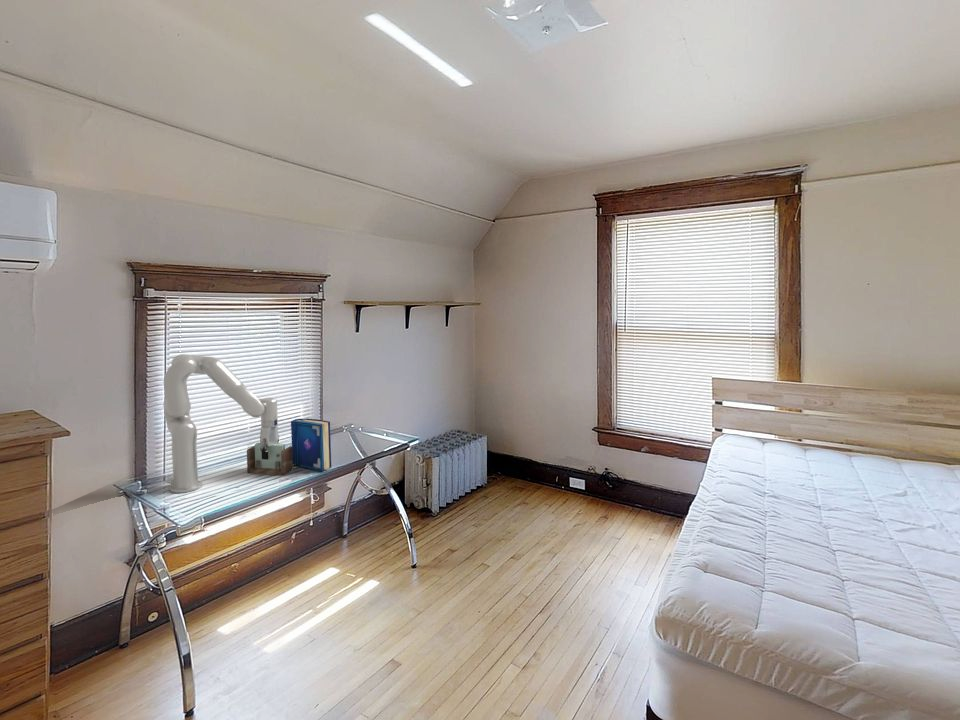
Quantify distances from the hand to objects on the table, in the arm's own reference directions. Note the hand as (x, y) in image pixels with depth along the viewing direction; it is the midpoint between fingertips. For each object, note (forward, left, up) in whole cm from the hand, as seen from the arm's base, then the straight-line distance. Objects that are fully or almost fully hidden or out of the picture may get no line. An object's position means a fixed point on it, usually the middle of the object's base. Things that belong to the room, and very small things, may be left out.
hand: (270, 456), depth 242 cm
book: (+17, +9, -8) cm, 21 cm away
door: (0, 0, -6) cm, 6 cm away
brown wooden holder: (0, 0, -8) cm, 8 cm away
